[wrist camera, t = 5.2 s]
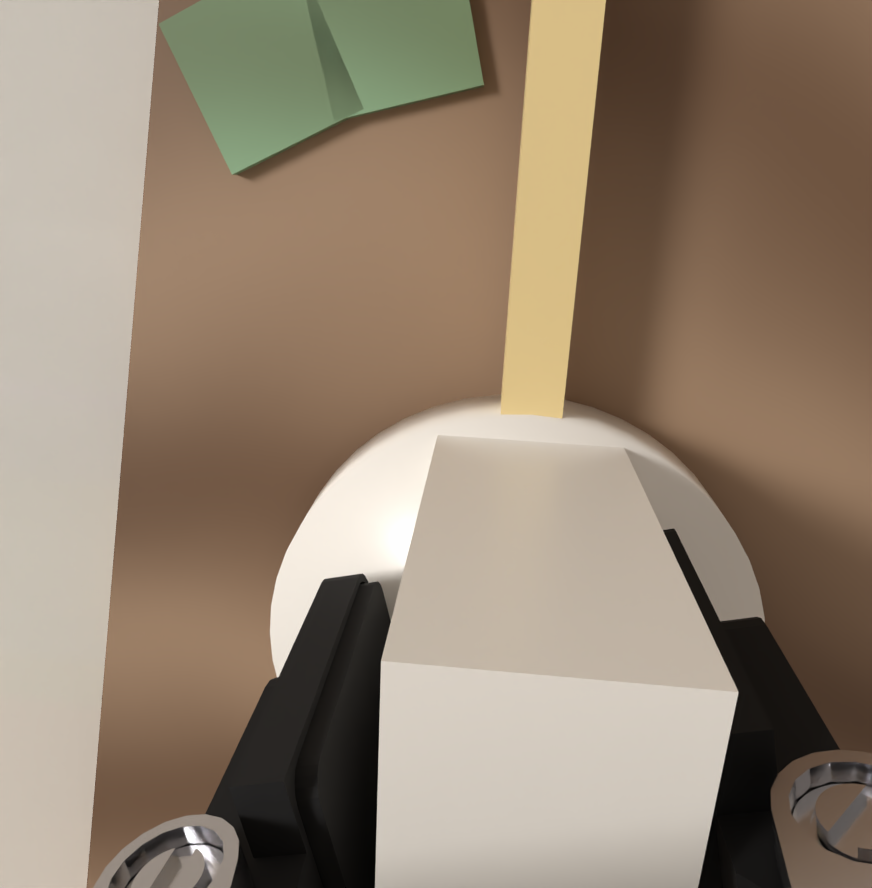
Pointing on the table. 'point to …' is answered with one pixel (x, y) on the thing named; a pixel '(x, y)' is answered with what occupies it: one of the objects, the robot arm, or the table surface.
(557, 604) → the knob
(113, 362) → the table surface
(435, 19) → the dial board
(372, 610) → the robot arm
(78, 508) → the table surface
